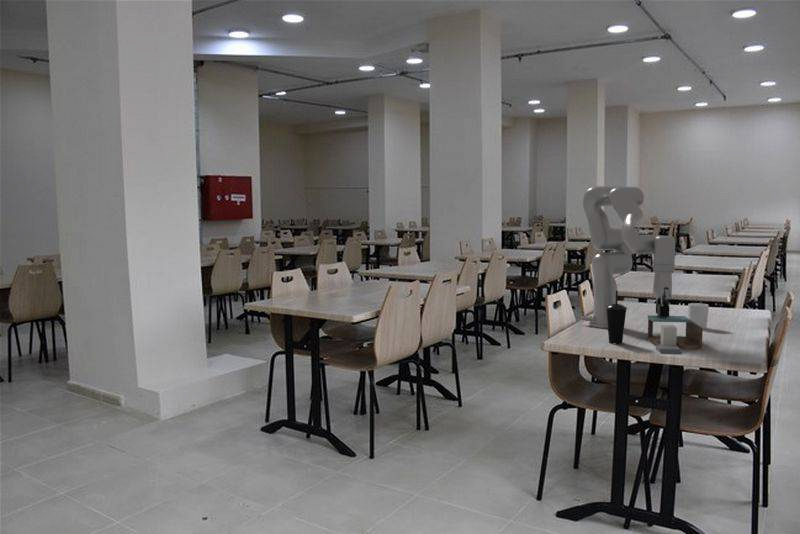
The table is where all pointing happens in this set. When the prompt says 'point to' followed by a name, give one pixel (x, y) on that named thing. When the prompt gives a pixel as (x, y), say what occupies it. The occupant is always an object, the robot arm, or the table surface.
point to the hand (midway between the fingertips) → (662, 314)
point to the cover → (667, 318)
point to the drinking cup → (616, 321)
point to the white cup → (698, 313)
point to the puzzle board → (688, 342)
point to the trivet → (668, 349)
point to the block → (668, 335)
